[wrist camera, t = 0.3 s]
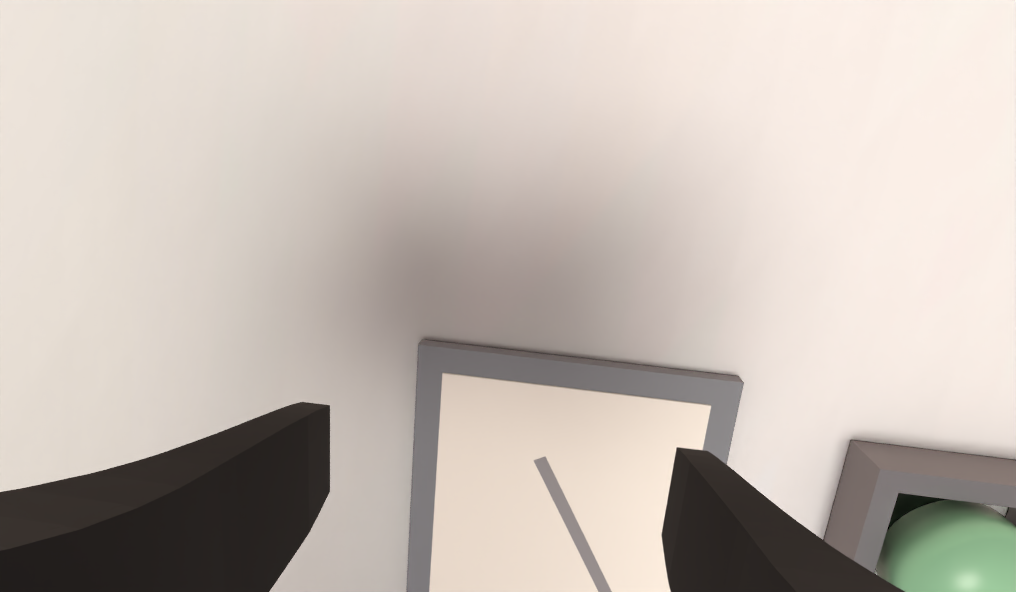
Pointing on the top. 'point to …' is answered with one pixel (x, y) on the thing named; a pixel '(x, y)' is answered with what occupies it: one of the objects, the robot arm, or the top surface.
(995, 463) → the button housing
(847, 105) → the top surface
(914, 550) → the button
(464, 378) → the clipboard
